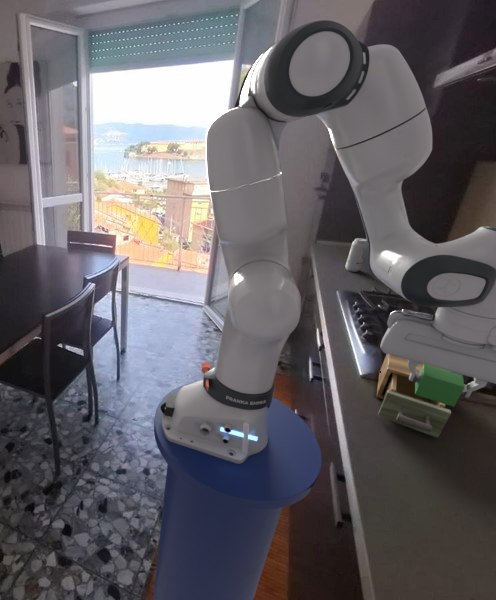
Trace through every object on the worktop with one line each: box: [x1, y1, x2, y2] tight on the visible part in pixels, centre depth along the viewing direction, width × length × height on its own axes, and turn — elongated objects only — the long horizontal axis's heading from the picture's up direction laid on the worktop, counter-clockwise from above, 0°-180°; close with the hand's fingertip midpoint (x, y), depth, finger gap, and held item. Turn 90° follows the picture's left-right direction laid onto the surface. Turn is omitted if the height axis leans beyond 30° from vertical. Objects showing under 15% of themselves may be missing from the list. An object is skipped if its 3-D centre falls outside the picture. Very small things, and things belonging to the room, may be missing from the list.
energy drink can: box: [345, 237, 366, 273], centre depth 168 cm, size 6×6×15 cm
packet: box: [415, 365, 465, 408], centre depth 66 cm, size 4×6×4 cm
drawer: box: [377, 373, 452, 438], centre depth 79 cm, size 17×10×7 cm, turn 141°
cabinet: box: [375, 353, 451, 400], centre depth 88 cm, size 14×12×9 cm
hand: (437, 387), depth 66 cm, fingers closed on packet, 5 cm apart
